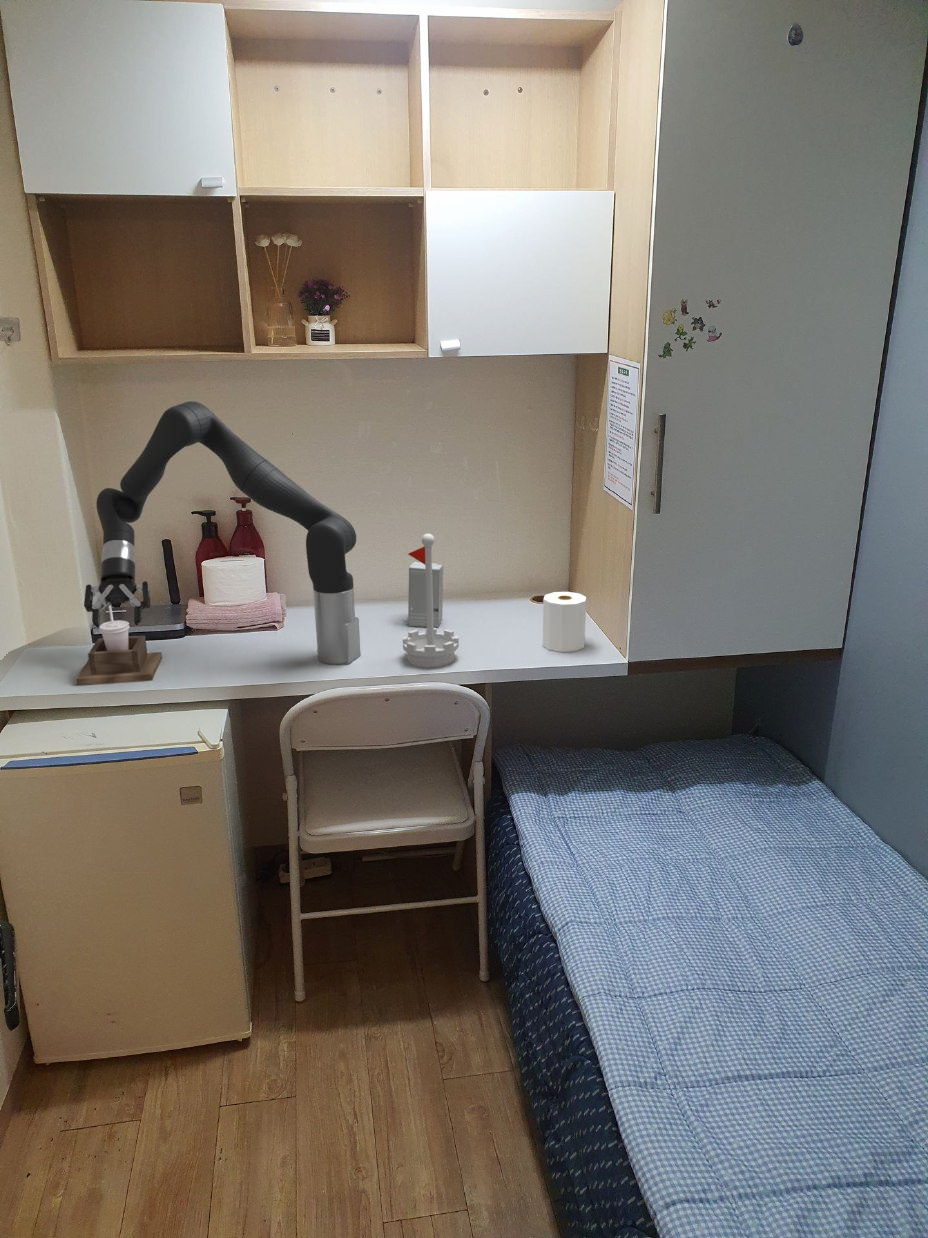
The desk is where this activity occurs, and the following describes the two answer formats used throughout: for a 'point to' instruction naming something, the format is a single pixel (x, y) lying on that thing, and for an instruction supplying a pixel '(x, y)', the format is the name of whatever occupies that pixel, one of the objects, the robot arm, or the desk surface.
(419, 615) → the skincare box
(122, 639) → the smoothie
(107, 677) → the socket board
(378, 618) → the desk surface
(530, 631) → the desk surface
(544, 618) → the toilet paper
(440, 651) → the flag stand
